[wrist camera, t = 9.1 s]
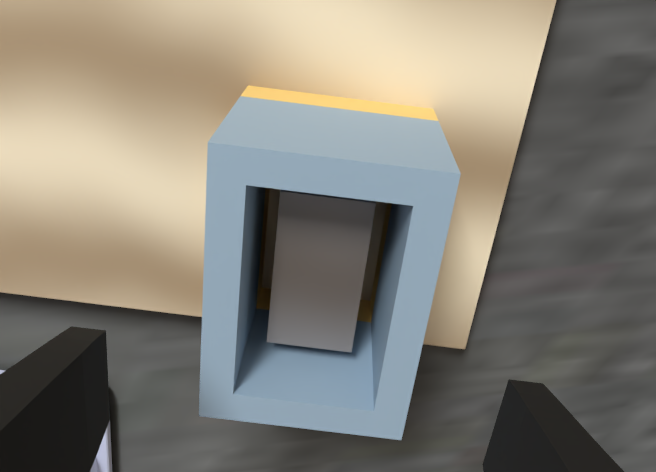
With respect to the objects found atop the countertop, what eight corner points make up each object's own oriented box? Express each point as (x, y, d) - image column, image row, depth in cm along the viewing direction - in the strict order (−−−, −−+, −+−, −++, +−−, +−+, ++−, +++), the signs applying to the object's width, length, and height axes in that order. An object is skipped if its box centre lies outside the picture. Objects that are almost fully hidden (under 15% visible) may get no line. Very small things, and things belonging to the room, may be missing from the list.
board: (459, 328, 21) (484, 426, 17) (-132, 255, 21) (-256, 336, 17) (581, -153, 15) (666, -185, 11) (-254, -264, 15) (-496, -341, 11)
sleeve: (433, 108, 17) (460, 173, 12) (391, 325, 20) (401, 439, 15) (247, 85, 17) (207, 142, 12) (235, 306, 20) (198, 416, 15)
